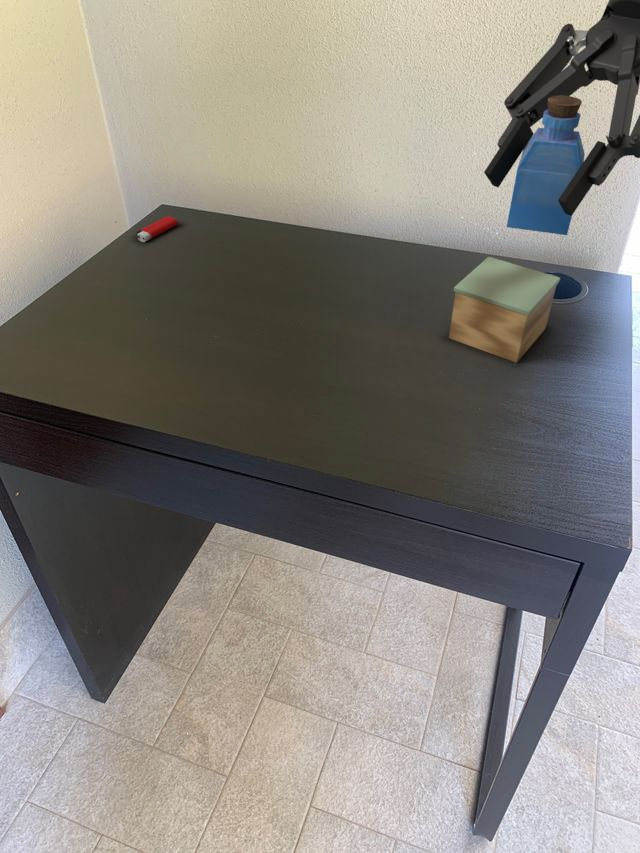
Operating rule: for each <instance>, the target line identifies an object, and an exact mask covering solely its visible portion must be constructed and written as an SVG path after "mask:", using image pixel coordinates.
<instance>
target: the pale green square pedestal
mask: <svg viewBox="0 0 640 853" xmlns="http://www.w3.org/2000/svg"><path fill="white" fill-rule="evenodd" d="M560 282H561V277H559V276H556V275H553V274H549V273H546V272H543V271H539V270H535V269H532V268H528V267H525V266H522V265H519V264H515V263H512V262H508V261H505V260H502V259H498V258H495V257H491V256H487V257H486V258H485V259H484V260H483V261H481V263H480V264H479V265H477V266H476V267H475V268H474V269H473V270H472V271H470V272H469V273H468V274H467V275H466V276H465V277H464V278H462V280H461V281H459V282H458V283H457V284H456V285H455V286H454V287H453V292H455V293H454V300H453V307H452V314H451V319H450V328H449V333H448V334H449V335H448V339H450V340H453V341H456V342H458V343H461V344H463V345H466V346H469V347H472V348H474V349H477V350H480V351H483V352H485V353H489V354H492V355H494V356H497V357H500V358H502V359H505V360H508V361H510V362H513V363H516V364H517V363H518V362H519V361H520V360H521V359H522V357H523V356H524V355H525V354H526V353H527V351H528V350H529V349H530V348H531V347H532V346H533V344H534V343H535V342H536V341H537V339H539V337H540V336H541V335H542V334H543V332H544V331H545V330H546V328H547V325H548V321H549V317H550V313H551V310H552V305H553V301H554V297H555V293H556V288H557V285H558V284H559V283H560Z"/></svg>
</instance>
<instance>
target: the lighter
mask: <svg viewBox="0 0 640 853" xmlns="http://www.w3.org/2000/svg"><path fill="white" fill-rule="evenodd" d="M178 222H179V221H178V220H177V219H176V218H174V217H172V216H168V215H167V216H165V217H163V218H160V219H159V220H157V221H155V222H153V223H151V224H149V225H147V226H145V227H143V228H141V229H139V230H137V231H136V236H137V240H138V241H139V242H142V243H146V242H148V241H149V240H152V239H154V238H155V237H157V236H159V235H161V234H163V233H165V232H167V231H168V230H171V229H172V228H174V227H176V226H178V225H179V223H178Z"/></svg>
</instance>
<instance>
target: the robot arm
mask: <svg viewBox="0 0 640 853" xmlns="http://www.w3.org/2000/svg"><path fill="white" fill-rule="evenodd" d="M583 47H584V48H583ZM581 48H583V49H582V50H581ZM585 66H586V67H587V69H586V68H585ZM594 81H600V82H602V81H603V82H605V81H608V82H609V83H611V84H613V85H615V86H616V91H615V99H614V102H613V109H612V115H611V121H610V125H609V132H608V135H605V138H606V141H607V144H606V143H605V142H603V141H600V140H597V141H596V143H595V144H594V146H593V147H592V149H591V150H590V152H589V153H588V154H587V156H586V157H585V158H584V162H583V164H582V165H581V167H580V168H579V170H578V171H577V173H576V174H575V175H574V177H573V178H572V180H571V181H570V183H569V184H568V186H567V187H566V189H565V190H564V192H563V193H562V195H561V196H560V198H559V199H558V202H559V203H560V205H561V207H562V209H563V211H564V212H565V214H567V215H570V216H572V217H573V215H574V213H575V212H576V211H577V209H578V207H579V206H580V204H581V203H582V202H583V201H584V199H585V197H586V196H587V195H588V193H589V191H590V190H591V188H592V187H593V185H595V186H598V187H600V186H601V185H602V184H603V183H605V181H606V180H607V178H608V176H609V175H610V173H611V172H612V171H613V169H614V168H615V166H616V165H617V163H618V162H619V161H620V160H621V159H622V158H624V157H627V156H629V157H630V156H634V158H636V159H640V114H639V115H638V117H637V119H636V121H635V124H634V126H633V128H632V131H631V126H632V121H633V117H634V116H633V115H634V110H635V104H636V99H637V95H639V90H640V0H608V2H607V3H606V6H605V8H604V11H603V14H602V16H601V18H600V19H599V20H598V21H597V22H596V23H595V24H594V25H592V26H591V27H590V28H588V30H581V29H579V30H578V29H575V28H574V25H573V24H572V23H567V24H565V25H563V26H562V27H561V29H560V31H559V33H558V35H557V37H556V39H555V41H554V43H553V44H552V45H551V47H550V48H549V49H548V50H547V51H546V53H545V54H544V55H542V57H541V58H540V59H539V60H538V62H536V64H535V65H534V66H533V67H532V68H531V69H530V71H529V72H528V73H527V74H526V75H525V76H524V77H523V79H522V80H521V81H520V82H519V83H518V84H517V86H516V87H515V88H514V89H513V90H512V91H511V93H509V95H508V96H507V97H506V98H505V100H504V103H503V104H504V106H505V108H506V109H507V112H508V113H509V115H510V117H511V120H510V121H509V123H508V125H507V126H506V128H505V130H504V131H503V132H502V134H501V136H500V137H499V139H498V141H497V146H498V150H497V152H496V153H495V155H494V156H493V158H492V159H491V160H490V162H489V164H488V165H487V167H486V168H485V170H484V171H483V173H484V175H485V177H486V178H487V179H488V180H489V182H490V184H491V185H492V186H493V187H496V188H499V187H500V186H501V184H502V183H503V182H504V180H505V178H506V177H507V176H508V174H509V172H510V171H511V169H512V168H513V167H514V165H515V163H516V162H517V160H518V159H519V157H521V155H522V152H523V149H524V147H525V146H526V144H527V143H528V141H529V140H530V139H531V137H532V136H533V135H534V133H535V132H533V130H532V128H531V127H533V126H534V125H535V124H537V122H539V121H540V120H541V119H543V114H544V111H545V110H548V98H550V97H552V96H572V95H573V94H574V93H576V92H577V91H578V90H579V89H580V88H582V87H584V88H586V87H588V86H589V85H591V84H592V83H593V82H594Z"/></svg>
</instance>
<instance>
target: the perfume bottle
mask: <svg viewBox="0 0 640 853" xmlns="http://www.w3.org/2000/svg"><path fill="white" fill-rule="evenodd" d="M582 103H583V101H582V99H580V98H577V97H576V96H572V95H570V96H552V97H550V98H548V110H545V111H544V114H543V118H541V119H542V120H541V124H542V126H543V127H538V128H537V129H536V131H535V132H533V133H534V134H533V136H532V137H531V139H530V140H529V141H528V143H527V144H526V146H525V147H524V149H523V151H522V152H521V155H520V159H519V162H518V165H517V169H516V174H515V179H514V184H513V190H512V196H511V200H510V207H509V212H508V217H507V222H506V228H508V229H509V228H510V229H516V230H517V229H518V230H525V231H532V232H539V233H548V234H555V235H562V236H568V233H569V229H570V226H571V221H572V217H573V215H572V216H570V215H567V214H565V212H564V211H563V209H562V207H561V205H560V203H559V202H558V199H559V198H560V196H561V195H562V193H563V192H564V190H565V189H566V187H567V186H568V184H569V183H570V181H571V180H572V178H573V177H574V175H575V174H576V173H577V171H578V170H579V168H580V167H581V165H582V164H583V162H584V161H585V156H586V155H585V154H586V153H585V149H584V146H583V142H582V138H581V134H580V131H576V130H575V129H576V128H578V126H579V124H580V119H581V114H580V113H579V110H580V108H581V105H582Z"/></svg>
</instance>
